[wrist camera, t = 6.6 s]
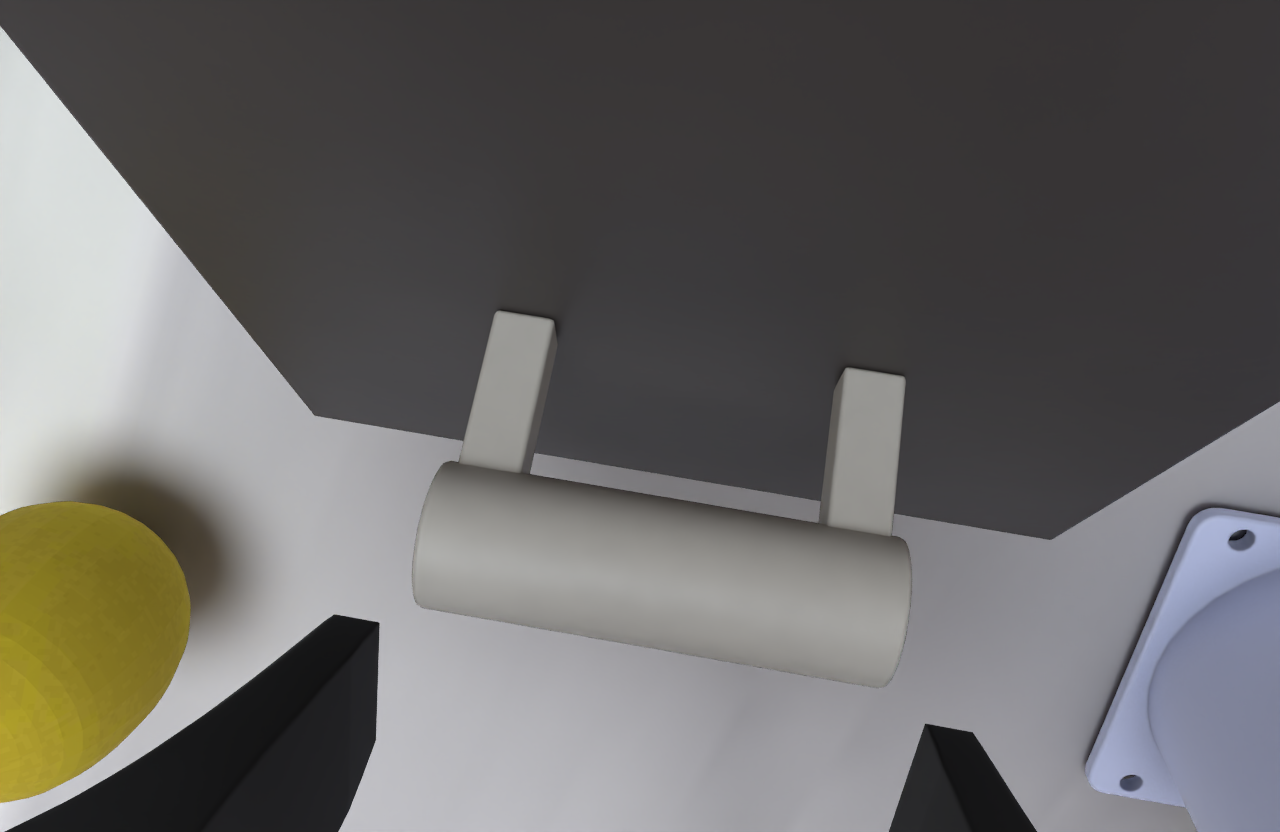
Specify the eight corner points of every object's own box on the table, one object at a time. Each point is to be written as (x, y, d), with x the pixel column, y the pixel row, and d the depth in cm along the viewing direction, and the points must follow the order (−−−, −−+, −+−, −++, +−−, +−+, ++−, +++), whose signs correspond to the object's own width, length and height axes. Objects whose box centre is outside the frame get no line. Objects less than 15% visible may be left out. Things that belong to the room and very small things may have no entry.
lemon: (268, 633, 27) (87, 891, 20) (70, 630, 28) (-173, 878, 21) (218, 442, 25) (-8, 658, 18) (3, 444, 25) (-297, 651, 18)
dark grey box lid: (-259, -451, 6) (-708, 171, 4) (1981, -151, 5) (2275, 665, 4) (325, 377, 17) (251, 623, 16) (1053, 498, 17) (1043, 763, 15)
